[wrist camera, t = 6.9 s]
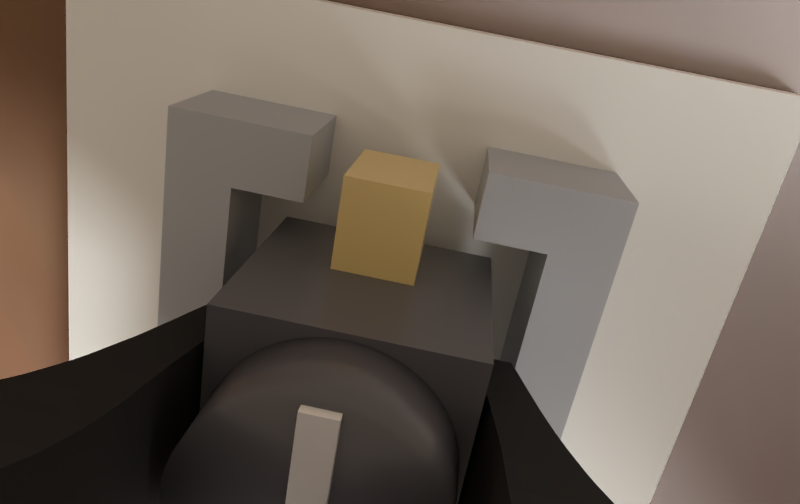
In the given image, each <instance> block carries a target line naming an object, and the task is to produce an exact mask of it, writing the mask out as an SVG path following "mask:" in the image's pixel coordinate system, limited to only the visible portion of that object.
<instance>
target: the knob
mask: <svg viewBox="0 0 800 504" xmlns="http://www.w3.org/2000/svg"><path fill="white" fill-rule="evenodd" d="M439 167H440V164H439V163H434V162H429V161H424V160H419V159H414V158H409V157H404V156H399V155H394V154H389V153H383V152H378V151H373V150H368V149H365V150H364V151H363V152H362V153H361V155H360V156H359V157H358V158H357V160H356V161H355V162H354V163H353V165H352V166H351V167H350V168H349V170H348V171H347V172H346V173H345V175H344V177H343V184H342V191H341V198H340V205H339V212H338V219H337V226H332V225H327V224H322V223H317V222H312V221H307V220H302V219H297V218H292V217H286V218H285V219H284V220H283V222H282V223H281V224H280V225H279V226H278V227H277V228H276V229H275V230H274V231H273V232H272V234H271V235H270V236H269V237H268V238H267V239H266V240H265V241H264V242H263V243H262V244H261V246H260V247H259V248H258V249H257V250H256V251H255V252H254V253H253V254H252V255H251V256H250V258H249V259H248V260H247V261H246V262H245V263H244V264H243V265H242V266H241V267H240V269H239V270H238V271H237V272H236V273H235V274H234V275H233V276H232V277H231V278H230V279H229V281H228V282H227V283H226V284H225V285H224V286H223V287H222V288H221V289H220V290H219V291H218V293H217V294H216V295H215V296H214V297H213V298H212V299H211V300H210V301H209V302H208V303H207V311H206V325H205V339H204V354H203V368H202V382H201V396H200V411H199V414H198V415H197V416H196V418H195V419H194V421H193V422H192V424H191V425H190V427H189V428H188V429H187V431H186V432H185V434H184V435H183V437H182V438H181V440H180V441H179V442H178V444H177V445H176V447H175V448H174V450H173V451H172V453H171V455H170V457H169V459H168V461H167V463H166V465H165V468H164V472H163V475H162V478H161V485H160V492H159V502H160V504H458V501H459V497H460V493H461V489H462V486H463V482H464V478H465V474H466V470H467V466H468V462H469V458H470V455H471V451H472V447H473V443H474V439H475V435H476V431H477V427H478V424H479V420H480V416H481V412H482V408H483V404H484V400H485V396H486V393H487V389H488V385H489V381H490V377H491V373H492V369H493V365H494V357H493V314H492V272H491V258H489V257H484V256H479V255H474V254H469V253H465V252H460V251H455V250H450V249H445V248H440V247H435V246H430V245H425V244H424V243H425V238H426V233H427V227H428V222H429V217H430V212H431V207H432V202H433V197H434V192H435V187H436V182H437V177H438V172H439Z"/></svg>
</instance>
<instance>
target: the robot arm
mask: <svg viewBox="0 0 800 504" xmlns="http://www.w3.org/2000/svg"><path fill="white" fill-rule="evenodd" d="M206 311H207V305H204V306H202V307H200V308H197V309H195V310H193V311H191V312H189V313H186V314H184V315H182V316H180V317H178V318H175V319H173V320H171V321H169V322H166V323H164V324H162V325H160V326H157V327H155V328H153V329H151V330H148V331H146V332H144V333H142V334H139V335H137V336H134V337H132V338H129V339H127V340H124V341H121V342H119V343H116V344H114V345H111V346H108V347H106V348H103V349H101V350H98V351H96V352H93V353H90V354H88V355H85V356H82V357H79V358H76V359H73V360H70V361H67V362H64V363H61V364H58V365H54V366H51V367H47V368H44V369H40V370H37V371H33V372H30V373H26V374H22V375H18V376H15V377H10V378H5V379H1V380H0V504H160V502H159V492H160V485H161V478H162V475H163V472H164V468H165V465H166V463H167V461H168V459H169V457H170V455H171V453H172V451H173V450H174V448H175V447H176V445H177V444H178V442H179V441H180V440H181V438H182V437H183V435H184V434H185V432H186V431H187V429H188V428H189V427H190V425H191V424H192V422H193V421H194V419H195V418H196V416H197V415H198V414H199V411H200V396H201V382H202V368H203V354H204V339H205V325H206ZM458 504H614V503H613V502H612V501H611V500H610V499H609V497H608V496H607V495H606V494H605V493H604V492H603V491H602V490H601V489H600V488H599V487H598V486H597V485H596V483H595V482H594V481H593V480H592V479H591V478H590V477H589V475H588V474H587V473H586V472H585V471H584V469H583V468H582V467H581V466H580V464H579V463H578V462H577V461H576V459H575V458H574V457H573V455H572V454H571V453H570V452H569V450H568V449H567V448H566V447H565V445H564V444H563V442H562V441H561V440H560V438H559V437H558V436H557V434H556V433H555V431H554V430H553V428H552V427H551V426H550V424H549V423H548V421H547V420H546V418H545V417H544V415H543V414H542V412H541V410H540V409H539V407H538V406H537V404H536V402H535V401H534V399H533V398H532V396H531V394H530V393H529V391H528V389H527V388H526V386H525V384H524V383H523V381H522V379H521V378H520V376H519V374H518V373H517V371H516V370H515V368H514V366H513V365H512V363H510V362H505V361H501V360H496V359H494V365H493V369H492V373H491V377H490V381H489V385H488V389H487V393H486V396H485V400H484V404H483V408H482V412H481V416H480V420H479V424H478V427H477V431H476V435H475V439H474V443H473V447H472V451H471V455H470V458H469V462H468V466H467V470H466V474H465V478H464V482H463V486H462V489H461V493H460V497H459V501H458Z"/></svg>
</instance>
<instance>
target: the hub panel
mask: <svg viewBox="0 0 800 504" xmlns="http://www.w3.org/2000/svg"><path fill="white" fill-rule="evenodd" d="M66 69H67V177H68V284H69V361H70V360H73V359H76V358H79V357H82V356H85V355H88V354H90V353H93V352H96V351H98V350H101V349H103V348H106V347H108V346H111V345H114V344H116V343H119V342H121V341H124V340H127V339H129V338H132V337H134V336H137V335H139V334H142V333H144V332H146V331H148V330H151V329H153V328H155V327H157V326H160V325H162V324H164V323H166V322H169V321H171V320H173V319H175V318H178V317H180V316H182V315H184V314H186V313H189V312H191V311H193V310H195V309H197V308H200V307H202V306H204V305H207V303H208V302H209V301H210V300H211V299H212V298H213V297H214V296H215V295H216V294H217V293H218V291H219V290H220V289H221V288H222V287H223V286H224V285H225V284H226V283H227V282H228V281H229V279H230V278H231V277H232V276H233V275H234V274H235V273H236V272H237V271H238V270H239V269H240V267H241V266H242V265H243V264H244V263H245V262H246V261H247V260H248V259H249V258H250V256H251V255H252V254H253V253H254V252H255V251H256V250H257V249H258V248H259V247H260V246H261V244H262V243H263V242H264V241H265V240H266V239H267V238H268V237H269V236H270V235H271V234H272V232H273V231H274V230H275V229H276V228H277V227H278V226H279V225H280V224H281V223H282V222H283V220H284V219H285V218H286V217H292V218H297V219H302V220H307V221H312V222H317V223H322V224H327V225H332V226H337V219H338V212H339V205H340V198H341V191H342V184H343V177H344V175H345V173H346V172H347V171H348V170H349V168H350V167H351V166H352V165H353V163H354V162H355V161H356V160H357V158H358V157H359V156H360V155H361V153H362V152H363V151H364V150H365V149H368V150H373V151H378V152H383V153H389V154H394V155H399V156H404V157H409V158H414V159H419V160H424V161H429V162H434V163H439V164H440V167H439V172H438V177H437V182H436V187H435V192H434V197H433V202H432V207H431V212H430V217H429V222H428V227H427V233H426V238H425V243H424V244H425V245H430V246H435V247H440V248H445V249H450V250H455V251H460V252H465V253H469V254H474V255H479V256H484V257H489V258H491V272H492V314H493V357H494V359H496V360H501V361H505V362H510V363H512V365H513V366H514V368H515V370H516V371H517V373H518V374H519V376H520V378H521V379H522V381H523V383H524V384H525V386H526V388H527V389H528V391H529V393H530V394H531V396H532V398H533V399H534V401H535V402H536V404H537V406H538V407H539V409H540V410H541V412H542V414H543V415H544V417H545V418H546V420H547V421H548V423H549V424H550V426H551V427H552V428H553V430H554V431H555V433H556V434H557V436H558V437H559V438H560V440H561V441H562V442H563V444H564V445H565V447H566V448H567V449H568V450H569V452H570V453H571V454H572V455H573V457H574V458H575V459H576V461H577V462H578V463H579V464H580V466H581V467H582V468H583V469H584V471H585V472H586V473H587V474H588V475H589V477H590V478H591V479H592V480H593V481H594V482H595V483H596V485H597V486H598V487H599V488H600V489H601V490H602V491H603V492H604V493H605V494H606V495H607V496H608V497H609V499H610V500H611V501H612V502H613V503H614V504H650V502H651V500H652V497H653V495H654V492H655V490H656V488H657V485H658V483H659V480H660V478H661V475H662V473H663V471H664V468H665V466H666V463H667V461H668V459H669V456H670V454H671V451H672V449H673V446H674V444H675V442H676V439H677V437H678V434H679V432H680V430H681V427H682V425H683V422H684V420H685V418H686V415H687V413H688V410H689V408H690V405H691V403H692V401H693V398H694V396H695V393H696V391H697V389H698V386H699V384H700V381H701V379H702V376H703V374H704V372H705V369H706V367H707V364H708V362H709V360H710V357H711V355H712V352H713V350H714V348H715V345H716V343H717V340H718V338H719V335H720V333H721V331H722V328H723V326H724V323H725V321H726V319H727V316H728V314H729V311H730V309H731V307H732V304H733V302H734V299H735V297H736V294H737V292H738V290H739V287H740V285H741V282H742V280H743V278H744V275H745V273H746V270H747V268H748V265H749V263H750V261H751V258H752V256H753V253H754V251H755V249H756V246H757V244H758V241H759V239H760V237H761V234H762V232H763V229H764V227H765V224H766V222H767V220H768V217H769V215H770V212H771V210H772V208H773V205H774V203H775V200H776V198H777V195H778V193H779V191H780V188H781V186H782V183H783V181H784V179H785V176H786V174H787V171H788V169H789V167H790V164H791V162H792V159H793V157H794V154H795V152H796V150H797V147H798V145H799V142H800V94H797V93H792V92H787V91H782V90H777V89H771V88H766V87H761V86H756V85H751V84H746V83H741V82H736V81H731V80H726V79H721V78H716V77H711V76H706V75H701V74H696V73H691V72H686V71H681V70H676V69H670V68H665V67H660V66H655V65H650V64H645V63H640V62H635V61H630V60H625V59H620V58H615V57H610V56H605V55H600V54H595V53H590V52H585V51H580V50H575V49H569V48H564V47H559V46H554V45H549V44H544V43H539V42H534V41H529V40H524V39H519V38H514V37H509V36H504V35H499V34H494V33H489V32H484V31H479V30H474V29H468V28H463V27H458V26H453V25H448V24H443V23H438V22H433V21H428V20H423V19H418V18H413V17H408V16H403V15H398V14H393V13H388V12H383V11H378V10H373V9H368V8H362V7H357V6H352V5H347V4H342V3H337V2H332V1H327V0H66Z"/></svg>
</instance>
